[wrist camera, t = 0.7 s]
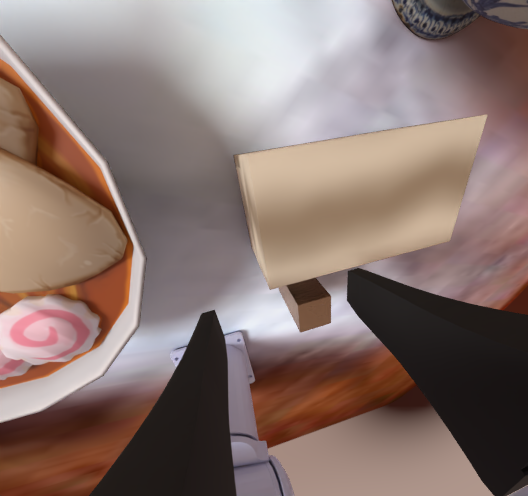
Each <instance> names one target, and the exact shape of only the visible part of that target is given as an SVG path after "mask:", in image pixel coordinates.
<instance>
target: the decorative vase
mask: <svg viewBox="0 0 528 496" xmlns="http://www.w3.org/2000/svg"><path fill="white" fill-rule="evenodd" d="M392 2H393V5H394V7H395V10H396V12H397V14H398V15H399V17H400V18H401V20H402V21H403V23H404V24H405V25H406V26H407V27H408V28H409V29H410V30H411V31H412V32H413V33H415V34H416V35H418V36H420V37H423V38H427V39H439V38H444V37H448V36H450V35H452V34H454V33H456V32H458V31H460V30H461V29H463V28H465V27H466V26H468V25H469V24H470V23H472V22H473V21H474V20H475V19H477V18H478V17H479V16H480V15H481V16H483V17H485V18H487V19H489V20H492V21H494V22H497V23H500V24H504V25H507V26H511V27H516V28H522V29H528V0H392Z"/></svg>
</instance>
